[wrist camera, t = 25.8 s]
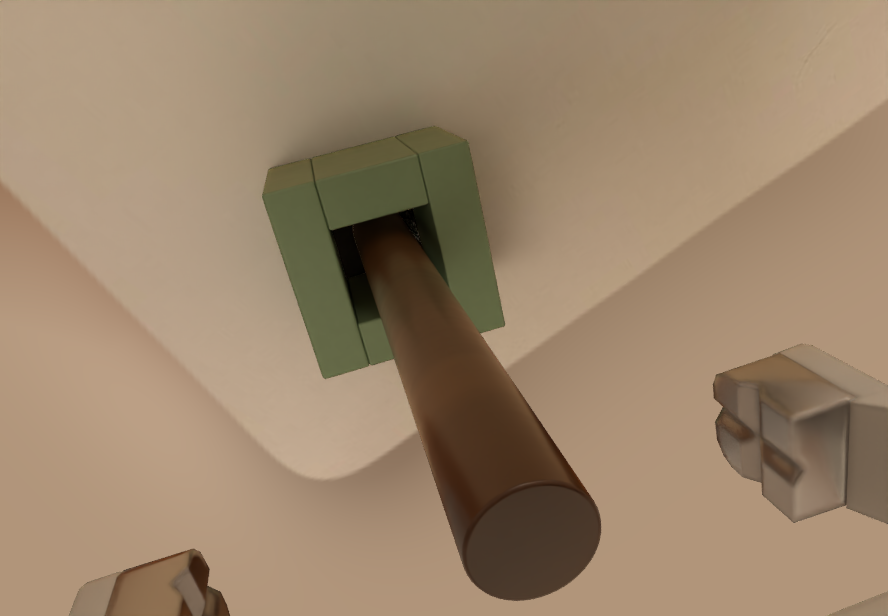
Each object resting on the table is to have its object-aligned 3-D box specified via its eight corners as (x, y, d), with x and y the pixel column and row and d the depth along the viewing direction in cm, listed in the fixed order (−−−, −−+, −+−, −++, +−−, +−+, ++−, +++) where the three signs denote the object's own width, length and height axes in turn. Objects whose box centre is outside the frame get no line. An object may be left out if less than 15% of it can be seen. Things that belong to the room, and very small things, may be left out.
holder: (318, 324, 26) (323, 380, 22) (267, 168, 24) (261, 194, 19) (469, 281, 27) (505, 326, 22) (435, 125, 24) (468, 140, 20)
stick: (358, 258, 26) (473, 619, 9) (347, 209, 25) (451, 505, 8) (407, 248, 26) (607, 580, 9) (399, 199, 25) (598, 465, 9)
